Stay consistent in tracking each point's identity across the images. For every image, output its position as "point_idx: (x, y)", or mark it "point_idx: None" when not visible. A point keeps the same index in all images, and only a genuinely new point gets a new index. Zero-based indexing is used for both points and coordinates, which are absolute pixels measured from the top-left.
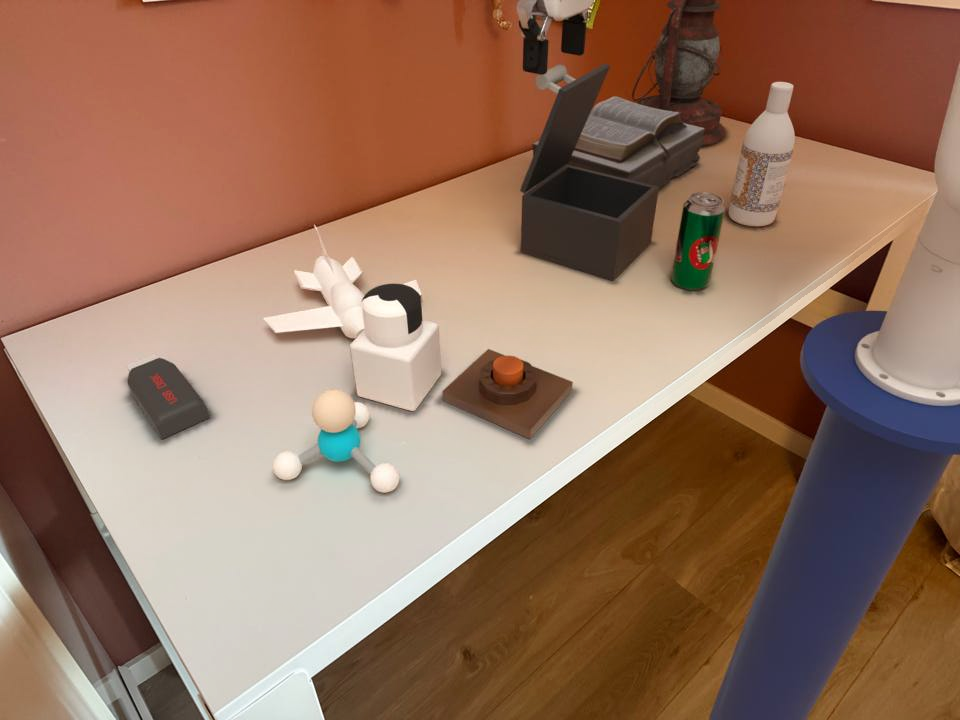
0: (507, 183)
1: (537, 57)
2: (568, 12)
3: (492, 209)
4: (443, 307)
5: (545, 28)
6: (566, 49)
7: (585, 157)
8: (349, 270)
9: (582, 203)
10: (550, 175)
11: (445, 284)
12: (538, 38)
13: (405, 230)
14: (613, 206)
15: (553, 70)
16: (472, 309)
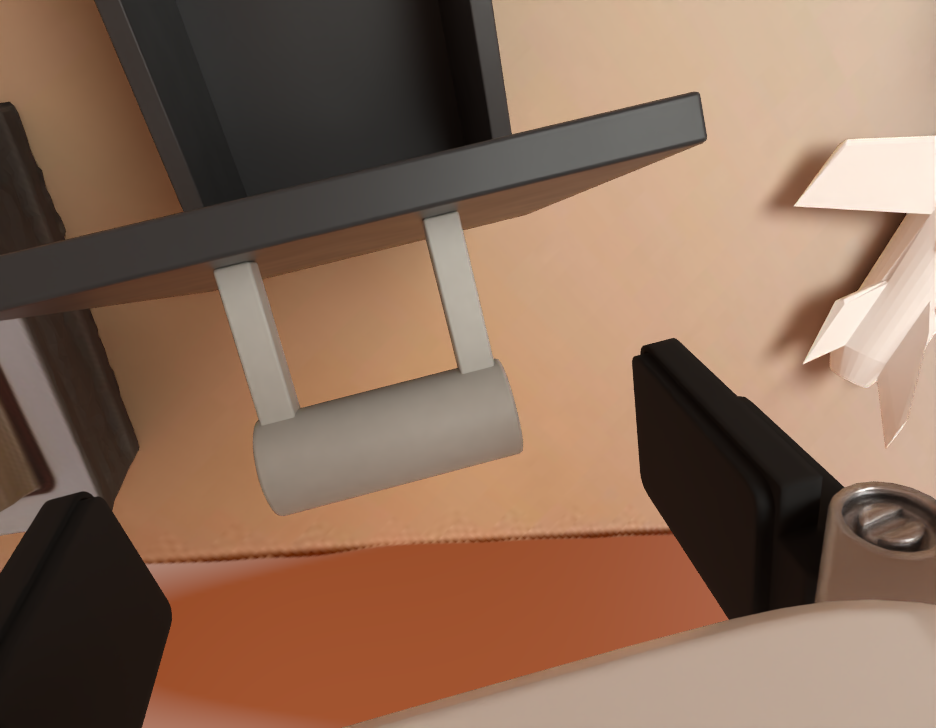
0: (221, 462)
1: (772, 428)
2: (702, 702)
3: (360, 379)
4: (793, 102)
5: (902, 580)
6: (150, 599)
7: (18, 338)
8: (853, 321)
9: (217, 156)
10: (108, 407)
11: (712, 178)
12: (914, 514)
13: (581, 422)
14: (164, 29)
15: (397, 447)
16: (768, 40)
